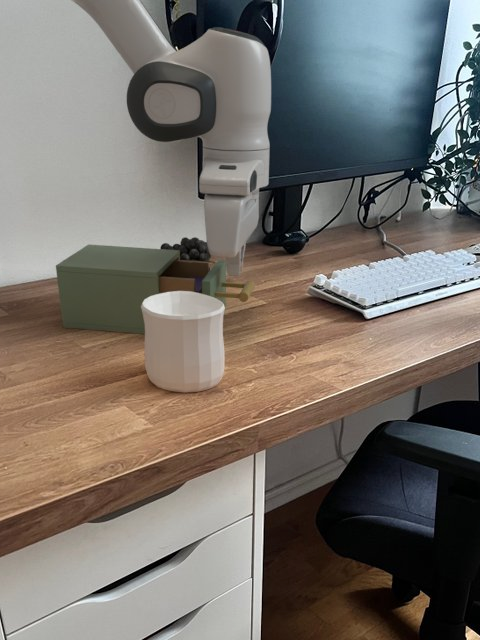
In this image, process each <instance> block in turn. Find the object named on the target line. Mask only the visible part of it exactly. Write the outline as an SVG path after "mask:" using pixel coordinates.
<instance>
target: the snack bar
mask: <svg viewBox="0 0 480 640" xmlns="http://www.w3.org/2000/svg"><path fill="white" fill-rule="evenodd" d="M190 279H195V292H196V293H201V294H202V280H203V279H204V278H203V277H190Z"/></svg>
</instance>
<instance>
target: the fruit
mask: <svg viewBox="0 0 480 640" xmlns="http://www.w3.org/2000/svg"><path fill="white" fill-rule="evenodd" d="M159 247H160V248H159V249H165V250H179V251H180V260H188V261H203V262H209V264H210V263H211V264H216V261H215V260H210V259H211V257H212V256H211V255H210V253H209V250H208V246H207V241H204V240H202V239H200V238H199V237H195V236H194V237H191V238H188V237H187V236H186V237H182V238H181V241H180V242H179V243H175V244H173V245H170V244H169V243H168V242H164V243H162V244H161V245H160V246H159ZM210 270H211V268H210V267H209V272H210Z"/></svg>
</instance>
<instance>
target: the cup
mask: <svg viewBox="0 0 480 640" xmlns="http://www.w3.org/2000/svg"><path fill="white" fill-rule="evenodd" d="M141 309H142V313H143V318H144V323H145V334H144V349H143V350H144V353H143V354H144V367H145V368H144V369H145V372H146V375H147V377H148V379H149V381H150V382H151V383H152V384H153V385H154V386H156V387H157V388H159V389H161V390H165V391H169V392H175V393H183V394H185V393H186V394H187V393H198V392H202V391H207V390H210V389H212V388H215V387H217V386H218V385H219V383H221V380H222V379H223V377H224V374H225V371H226V370H225V367H226V366H225V364H226V363H225V362H226V361H225V357H226V356H225V353H226V352H225V345H224V344H225V342H224V333H223V332H224V314H225V309H226V307H224V304H223V303H222V301H220V300H218V299H216V298H214V297H211V296H208V295H204V294H201V293H196V292H191V291H172V292H166V293H161V294H156V295H153V296H150V297H148V298H146V299H145V300H144V301H143V303H142V305H141Z"/></svg>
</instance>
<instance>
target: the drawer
mask: <svg viewBox="0 0 480 640" xmlns="http://www.w3.org/2000/svg"><path fill="white" fill-rule="evenodd" d="M209 268H210V263H209V262H203V261H188V260H175V261H174V262H173V263H172V264H171V265H170V266H169V267H168V268H167V269H166V270H165V271H164V272H163V273H162V274H161V275H160V276H159V294H161V293H166V292H172V291H191V292H195V279H190V277H203V278H204V279H203V280H202V294H204V295H208V296H211V297H214V298H216V299H218V300H220V301H222V303H223V304H224V307H225V308H227V299H238V300H239V301H240V302H242V303H246V302H247V301H248V300H249V299H250V297H251V295H252V293H253V291H254V289H255V287H256V283H255V282H254V281H252V280H247V281H246V282H244V283H243V282H232V281H231V282H230V281H227V261H226V259H225V260H224V259H223V260H222V259H218V260H217V261H216V262H215V263H214V265H213V267H212V268H210V272H209ZM227 288H234V289H242V290H241V291H240V293H239V292H227Z"/></svg>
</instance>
